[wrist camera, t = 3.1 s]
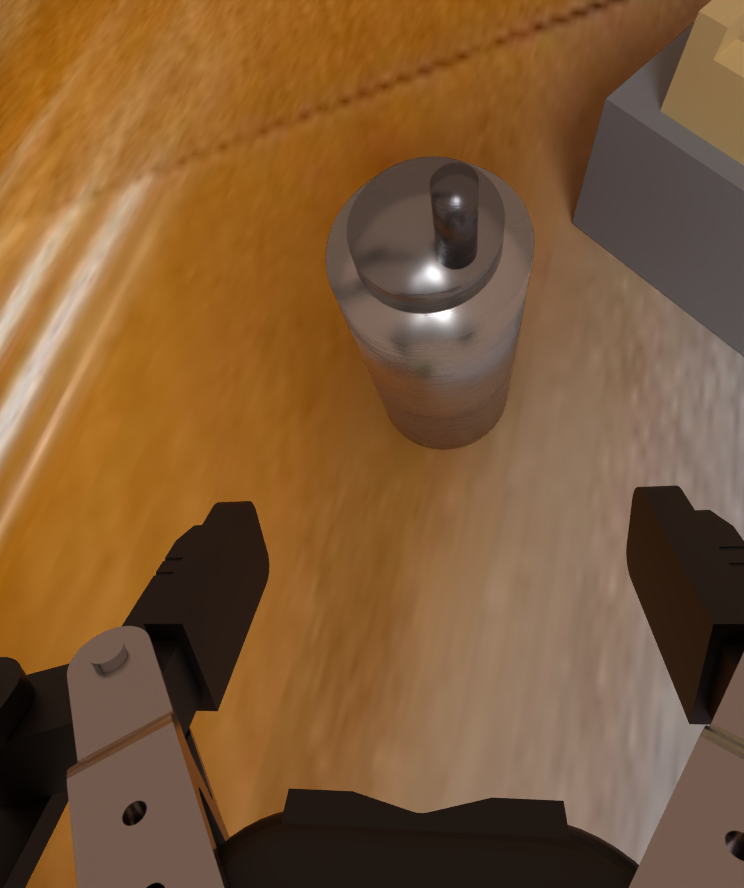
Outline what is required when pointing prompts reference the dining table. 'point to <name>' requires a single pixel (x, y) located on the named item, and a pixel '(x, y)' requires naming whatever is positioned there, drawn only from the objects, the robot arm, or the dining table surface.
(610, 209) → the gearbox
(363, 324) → the oil can
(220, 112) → the dining table surface
